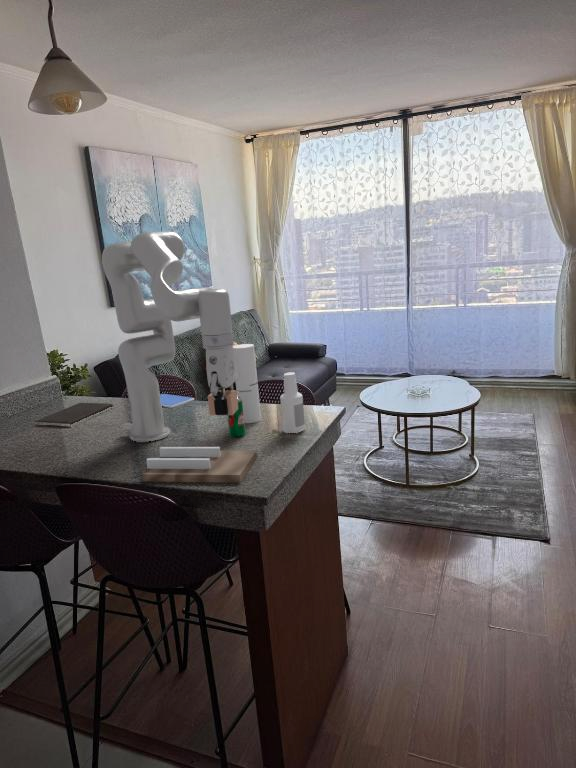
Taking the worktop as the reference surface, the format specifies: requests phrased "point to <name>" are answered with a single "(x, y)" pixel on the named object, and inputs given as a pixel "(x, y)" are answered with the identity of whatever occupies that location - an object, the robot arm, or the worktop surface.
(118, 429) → the worktop surface
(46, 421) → the hardcover book
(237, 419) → the soda can
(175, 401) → the tablet computer
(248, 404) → the cylindrical container
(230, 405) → the block
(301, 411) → the white bottle
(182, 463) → the channel
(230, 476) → the board
